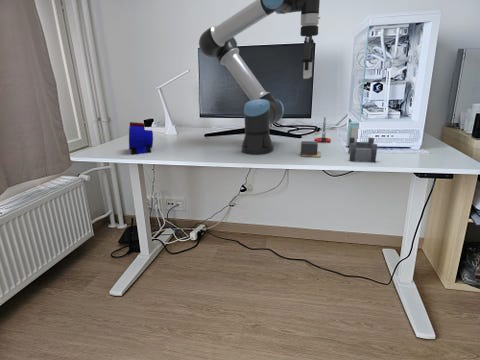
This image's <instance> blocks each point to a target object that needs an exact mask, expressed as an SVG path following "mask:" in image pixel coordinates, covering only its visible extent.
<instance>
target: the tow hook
mask: <svg viewBox="0 0 480 360" xmlns="http://www.w3.org/2000/svg"><path fill="white" fill-rule="evenodd" d="M322 123H323V124H322V126H323V127H322V134H321V137H316V138H314V141H315V142H318V144H319V143H323V144H324V143H325V144H326V143H329V144H330V143H331V141H332V139H331V138H329V137H326V128H327V127H326V123H327V122H326V117H323V122H322Z"/></svg>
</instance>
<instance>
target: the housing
mask: <svg viewBox="0 0 480 360" xmlns="http://www.w3.org/2000/svg"><path fill="white" fill-rule="evenodd" d="M354 140H355V138H354V137H350V139H349V147H348V151H347V152H348V154H349V158H348V159H349V162H365V163H366V162H367V163H368V162H370V163H376V162H377V161H376V160H377V152H378V144H377V143H375V138H374V137H368V141H362V142H354Z"/></svg>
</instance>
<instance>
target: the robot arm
mask: <svg viewBox="0 0 480 360" xmlns="http://www.w3.org/2000/svg"><path fill="white" fill-rule="evenodd" d="M320 2H321V1H320V0H255V1H253V2H251V3H250V4H248V5H247V6H245V7H243V8H242V9H240V10H239V11H238V12H236V13H235V14H233V15H232V16H230V17H228V18H227V19H225V20H224V21H222V22H221V23H219V24H218V25H212V26H211V27H209V28H208V29H206V30H204V32H202V34H201V35H200V37H199V40H198V46H199V49H200V51H201V53H202V54H203V55H205V56H206V57H209V58H216V60H217V61H218V62H219V64H220V65H222V66H225V67H226V68H227V70H228V71H229V73H230V74H231V76H233V78H234V79H235V81H236V82H237V83H238V85H239V87H240V88H241V89H242V90H243V92H244V93H245V94H246V96H247V98H248V99H249V101H246V102H245V103H244V107H243V108H244V109H243V115H244V117H243V119H244V136H243V137H244V138H243V141H242V144H241V152H243V153H245V154H250V155H263V154H264V155H265V154H270V153H272V152H273V151H274V145H273V141H272V138H271V135H270V134H271V133H270V126H271V125H273V124H276V123H278V122H279V121H280V120H281V119H282V118H283V116H284V113H285V107H284V104H283V103H282V101H281V100H279V99H278V98H275V97H274V96H273V94H272V93H271V92H270V91H269V92H268V91H266V90H265V89H264V88H263V86H262V85H261V83H260V82H259V81H258V79H257V78H256V76H255V75H254V73H253V71H251V69H250V68H249V67H248V65H247V64H246V63H245V61H244V59H243V58H242V57H241V55H240V49H239V48H238V42H237V39H236V38H235V37H236V36H237V35H239V34H241V33H242V32H244V31H246V30H247V29H249V28H251V27H252V26H253V25H255V24H257V23H258V22H260V21H261V20H263V19H265V18H266V17H269V16H270V15H272V14H273V13H276V14H277V15H280V14H281V15H285V14H291V13H296V12H297V13H298V12H299V13H300V26H301V27H300V36H301V37H304V40H303V58H302V59H301V63H303V70H302V73H303V74H302V77H303V79H311V78H312V76H313V63H315V60H314V59H313V50H314V44H315V42H314V39H313V37H315V36H318V35H319V26H318V24H319V23H320V22H319V20H320V19H321V16H320Z"/></svg>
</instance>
